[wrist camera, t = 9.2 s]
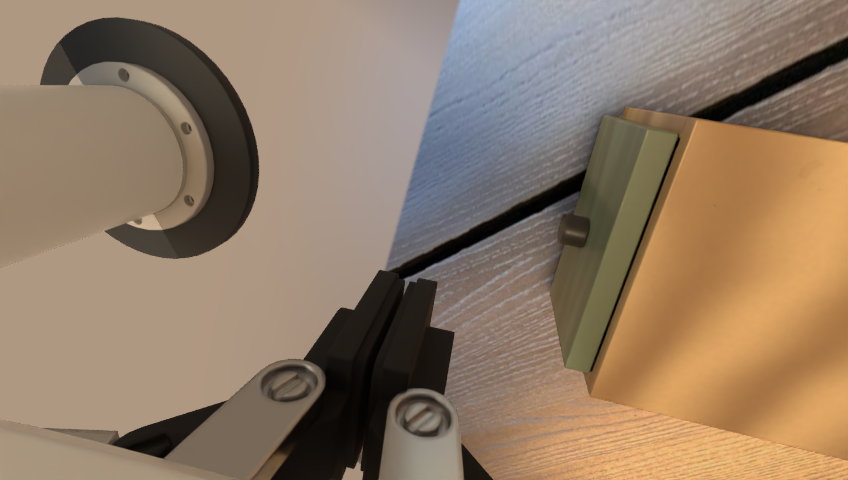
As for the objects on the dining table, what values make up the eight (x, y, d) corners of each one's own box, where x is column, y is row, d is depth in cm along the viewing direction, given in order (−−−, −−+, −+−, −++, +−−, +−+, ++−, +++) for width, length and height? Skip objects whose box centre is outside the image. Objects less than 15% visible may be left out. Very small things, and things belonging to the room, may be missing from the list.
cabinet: (563, 298, 28) (589, 396, 19) (624, 106, 23) (697, 118, 14) (795, 349, 26) (943, 485, 17) (913, 152, 21) (1201, 199, 12)
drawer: (531, 289, 27) (539, 362, 20) (581, 111, 23) (614, 122, 16) (769, 341, 25) (873, 442, 18) (872, 158, 21) (1062, 196, 14)
